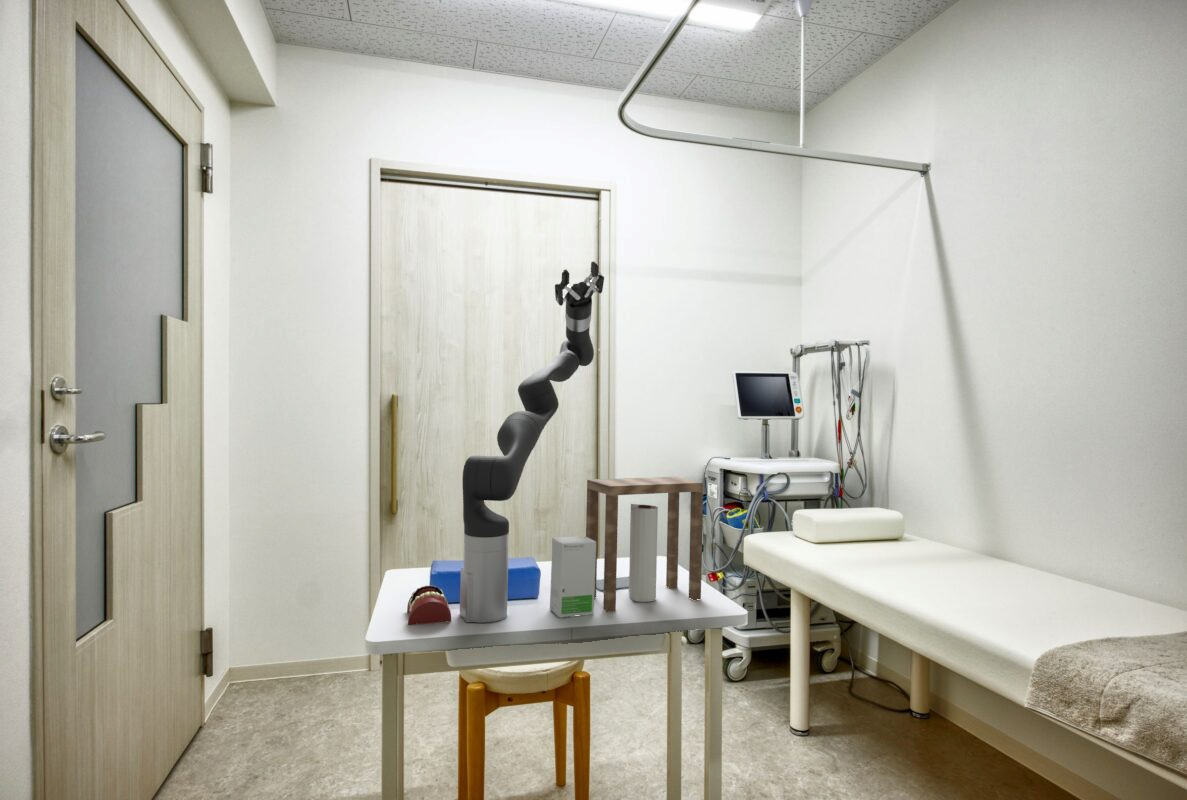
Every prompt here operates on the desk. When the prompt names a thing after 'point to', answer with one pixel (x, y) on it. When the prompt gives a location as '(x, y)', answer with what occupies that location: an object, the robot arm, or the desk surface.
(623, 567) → the desk surface
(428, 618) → the teeth
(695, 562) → the walnut shelf
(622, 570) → the desk surface
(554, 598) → the skincare box
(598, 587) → the slate mat
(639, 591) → the paper towel roll
